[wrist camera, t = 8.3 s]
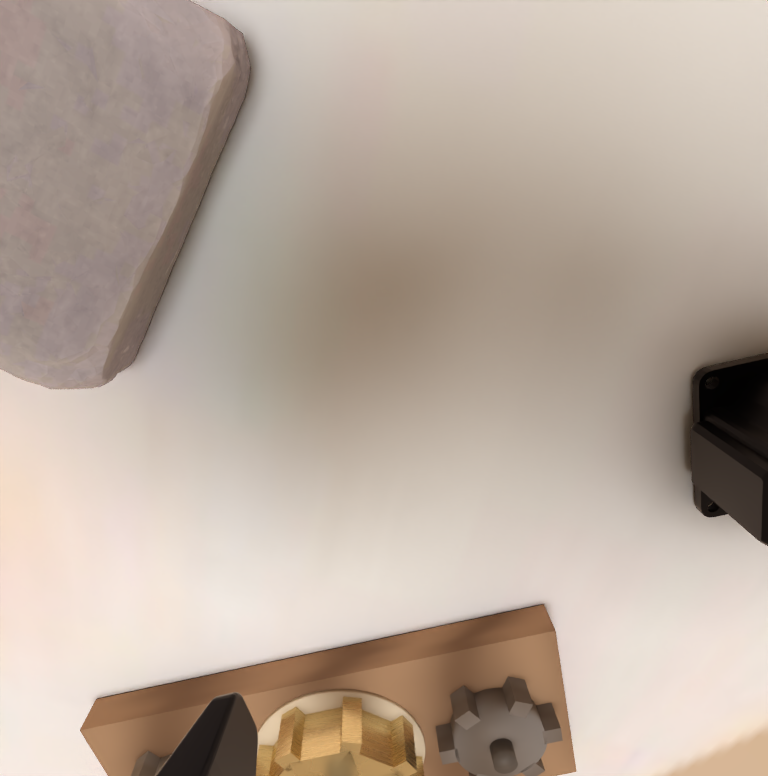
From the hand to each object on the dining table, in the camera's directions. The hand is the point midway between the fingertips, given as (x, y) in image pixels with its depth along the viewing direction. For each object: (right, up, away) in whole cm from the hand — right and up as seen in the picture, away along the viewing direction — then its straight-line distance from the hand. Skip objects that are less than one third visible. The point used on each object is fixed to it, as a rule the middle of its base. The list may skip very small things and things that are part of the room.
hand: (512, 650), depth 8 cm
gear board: (-4, -12, +17) cm, 21 cm away
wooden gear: (-4, -12, +15) cm, 20 cm away
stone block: (-13, +12, +9) cm, 19 cm away
